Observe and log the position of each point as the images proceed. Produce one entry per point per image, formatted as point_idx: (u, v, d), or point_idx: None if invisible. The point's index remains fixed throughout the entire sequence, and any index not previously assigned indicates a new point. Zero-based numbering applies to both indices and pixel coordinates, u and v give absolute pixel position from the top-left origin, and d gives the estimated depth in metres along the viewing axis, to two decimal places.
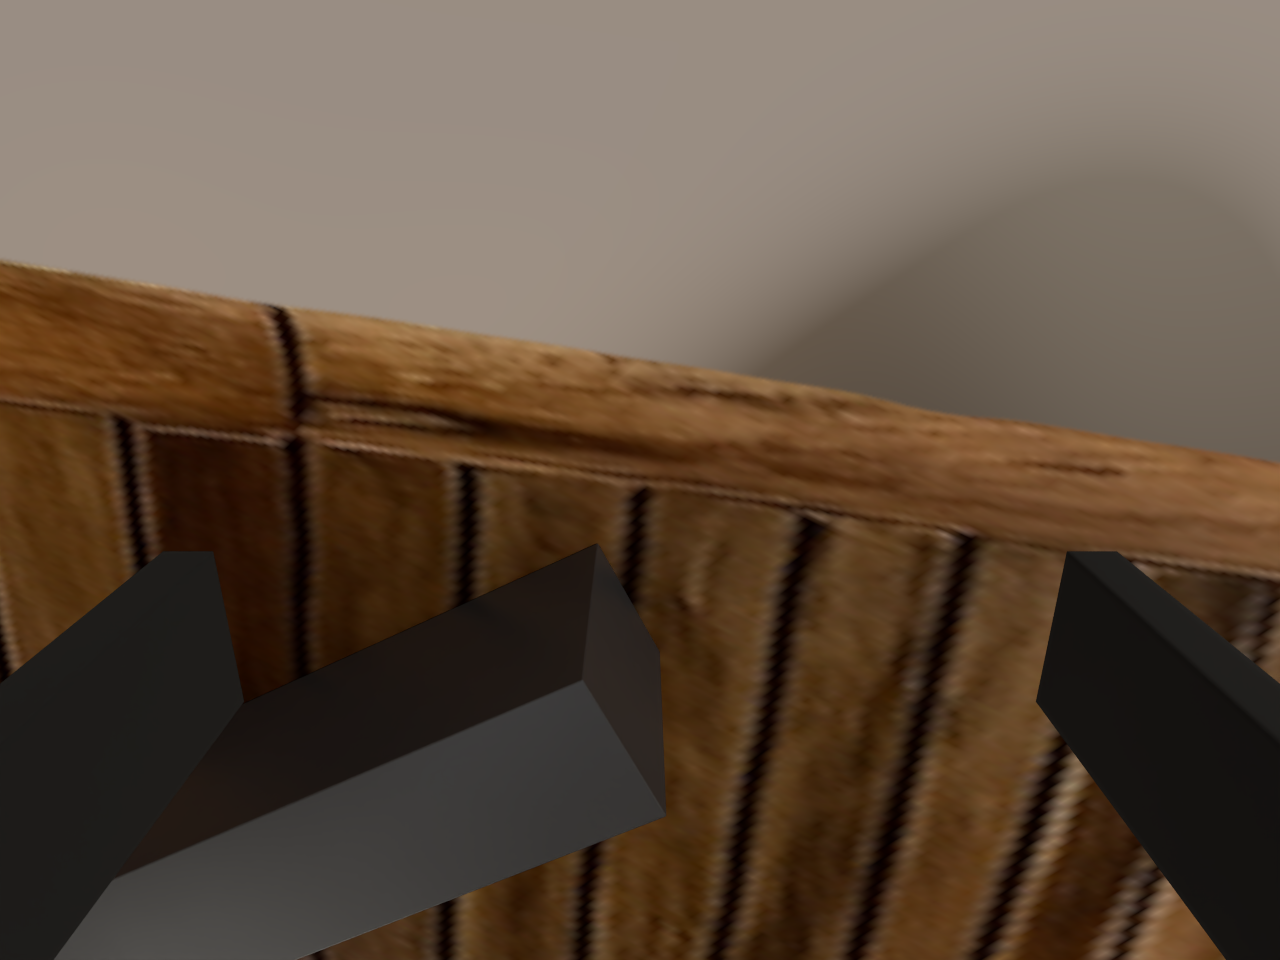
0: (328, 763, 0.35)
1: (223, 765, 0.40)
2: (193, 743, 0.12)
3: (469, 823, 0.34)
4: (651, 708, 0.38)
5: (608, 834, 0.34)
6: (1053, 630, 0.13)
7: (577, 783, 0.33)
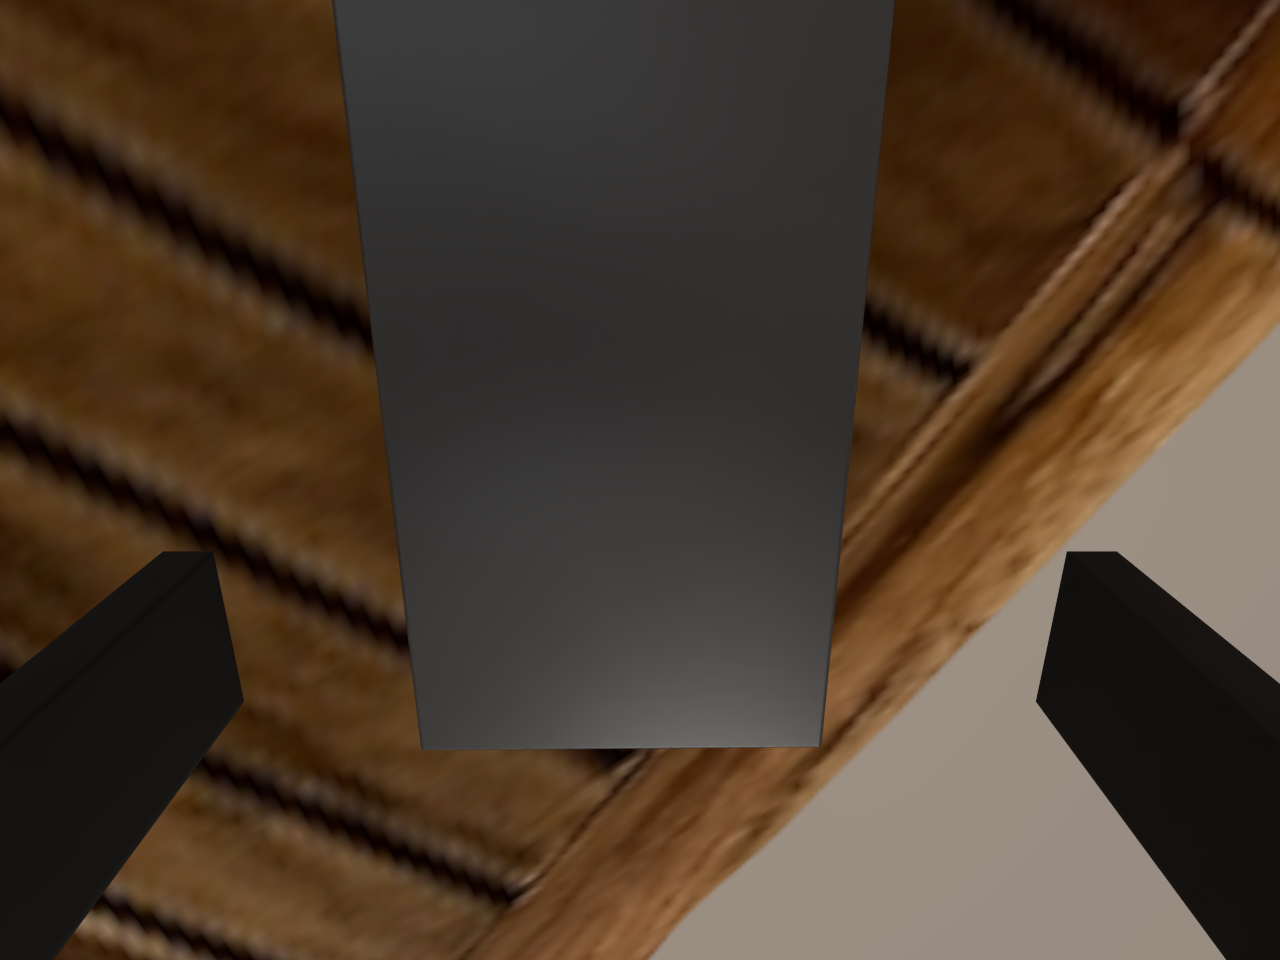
0: None
1: None
2: (192, 742, 0.12)
3: (590, 352, 0.12)
4: None
5: (419, 631, 0.14)
6: (1053, 630, 0.13)
7: (586, 633, 0.14)
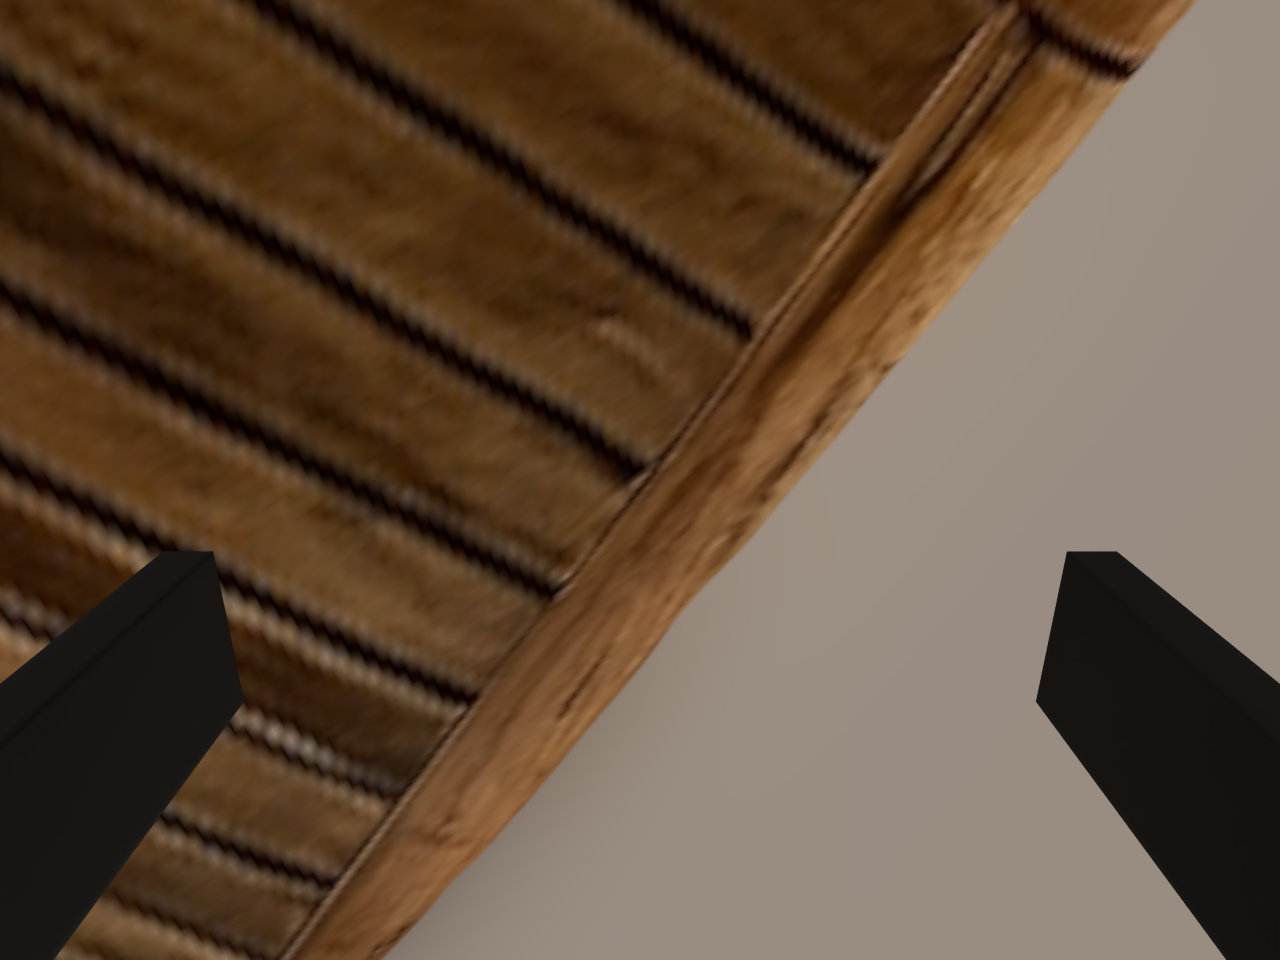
0: None
1: None
2: (192, 743, 0.12)
3: None
4: None
5: None
6: (1053, 630, 0.13)
7: None
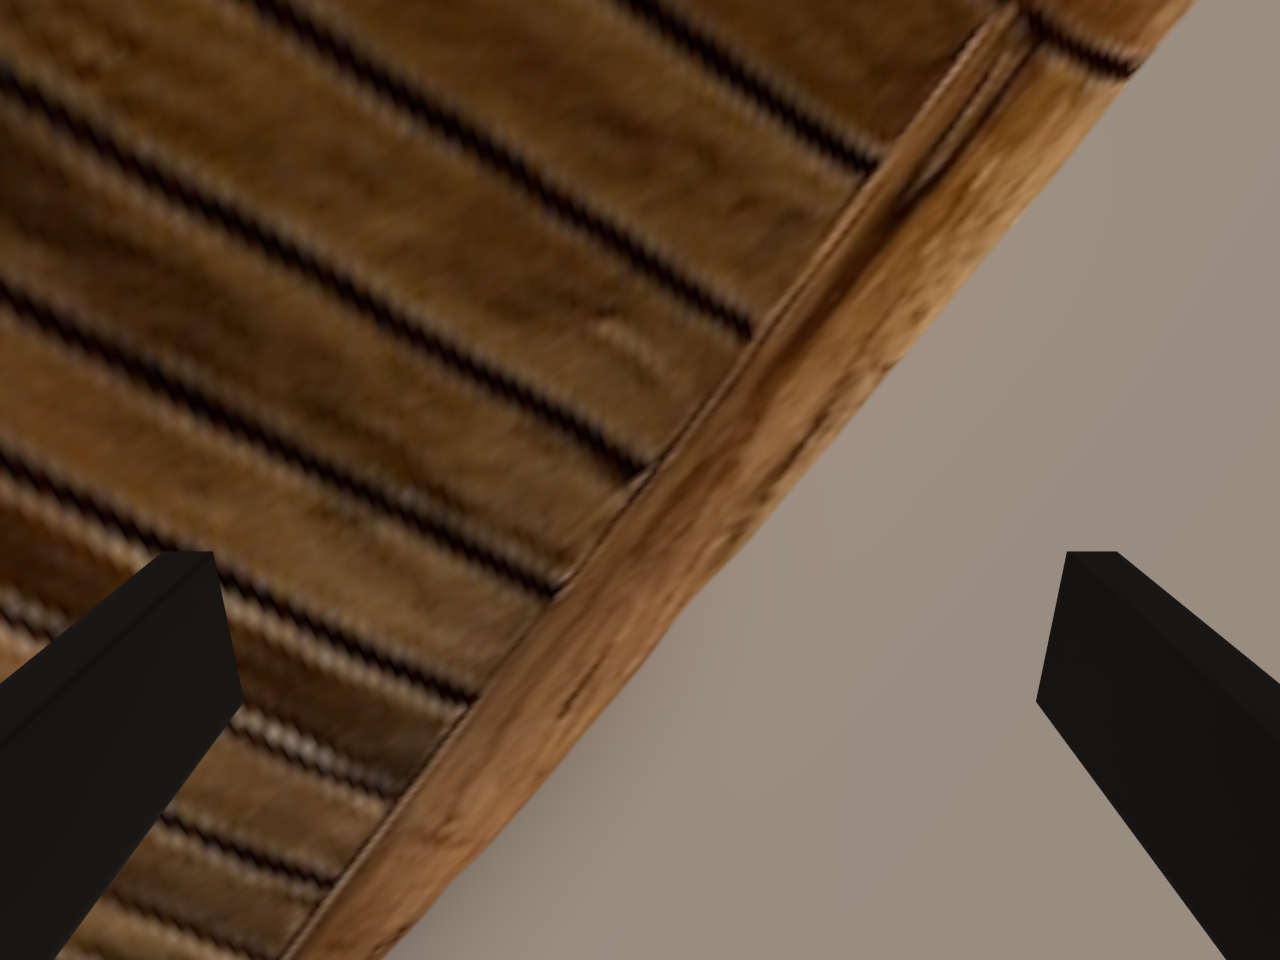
0: None
1: None
2: (192, 743, 0.12)
3: None
4: None
5: None
6: (1053, 630, 0.13)
7: None
